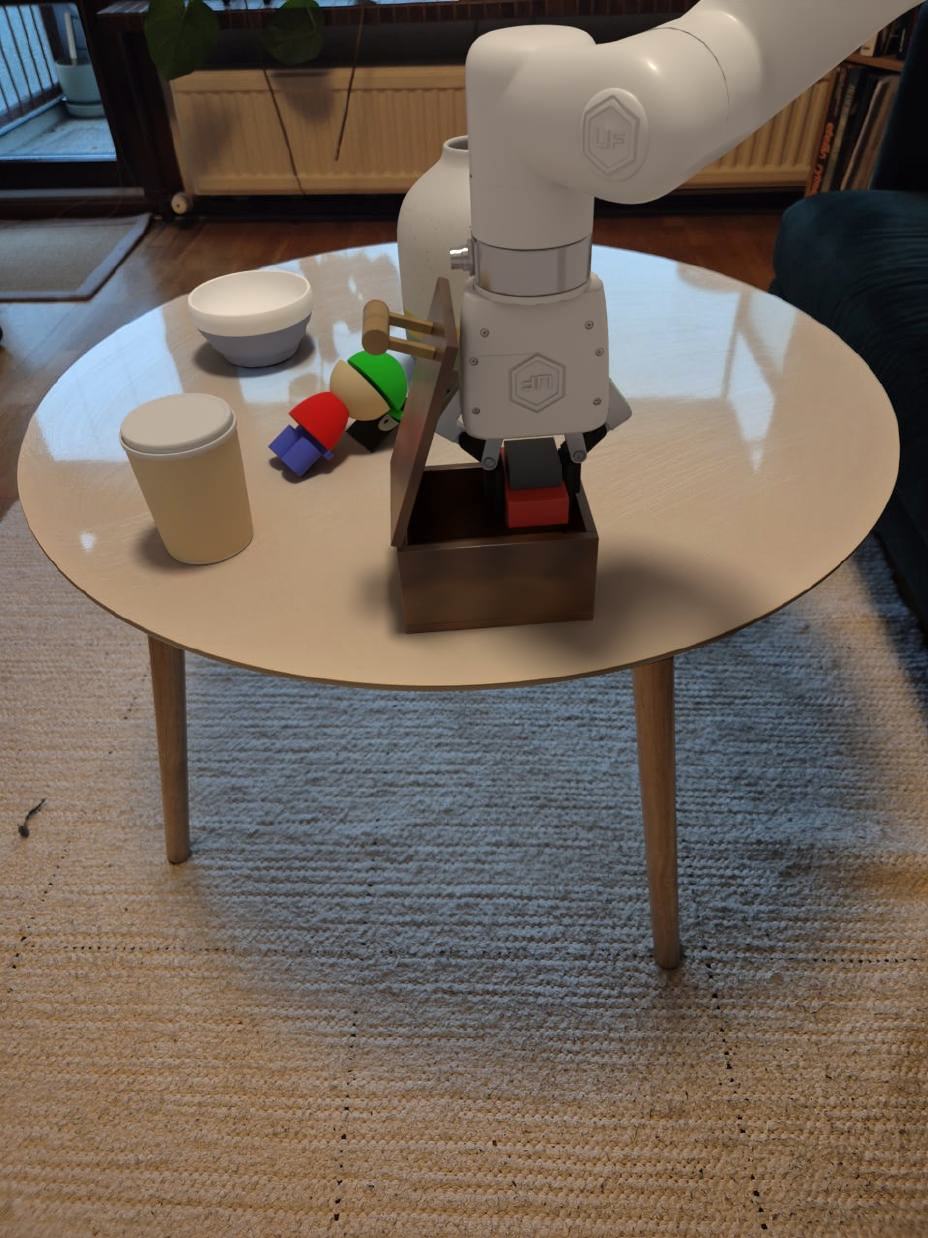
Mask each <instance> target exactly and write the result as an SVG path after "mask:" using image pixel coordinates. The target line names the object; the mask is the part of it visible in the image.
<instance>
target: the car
mask: <svg viewBox="0 0 928 1238" xmlns="http://www.w3.org/2000/svg"><path fill="white" fill-rule="evenodd" d="M500 453H501V455H502V460H503V465H504V471H505V510H504V517H505V526H506V527H509V528H516V527H529V526H542V525H554V524H567V523H568V511H569V498H568V494H567V490H566V487H565V483H564V481H563V477H562V464H561V460H560V457H559V453H558V447H557V443H556V440H555V437H554V436H545V437H532V438H519V439H506V440H503V446H502V447H501V451H500Z"/></svg>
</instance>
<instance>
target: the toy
mask: <svg viewBox="0 0 928 1238" xmlns="http://www.w3.org/2000/svg"><path fill="white" fill-rule="evenodd" d="M408 391H409V384H408V377H407V374H406V371H405V369H404V367H403V365H402V364H401V363H400V362H399V361H398V360H397V359H396V358H395V357H394V356H393V355H391V354H390V353H388V352H387V351H386V352H385V353H384V354H382V355H378V356H374V355H370V354H368V353H367V352H366V351H365V350H364V349H363V350H361V351H358V352H355V353H354V354H353V355H351V356H350V357H349V358H348V359H347V360H346V361H345V360H343V359H341V358H340V359H339V360H338V361H337V362H336V364H335V365H334V367H333V369H332V371H331V374H330V377H329V391H321V392H318V393H315V394H312V395H311V396H309V397H307V398H306V399H303V400H302V401H301V402H300V403H298V404H297V405H295V407H294V408H292V409H291V410H290V411H289V412H288V413H287V414H288V415H289V416H290V417H291V419H293V421H294V422H295V423H297V424H298V425H297V426H296V427H293V426H292V425H291V424H290V423H289V424H288V425H287V426H286V427H285V428H284V429H283V430H282V431H281V432H280V433H279V434H278V435H277V436H276V437H275V438H274V439H273V440H272V442H271V443H270V444H269V445H267V448H269V450H270V451H272V452H273V453H274V455H276V456H277V457H278V458H279V459H280V460H281V461H282V462H283V463H284V464H285V465H287V467H288V468H289V469H290V470H292V471H293V472H294V473H295V474H296V475H297V476H298V477H299V478H301V477H302V476H303V475H304V474H305V473H306V472H307V471H308V470H309V469H310V468H311V467H312V466H313V464H315V463H316V461H317V460H318V459H319V458H320V457H321V456H323V457H324V458H325V459H326V460H327V461H330V460H332V458H333V457H334V454H333V453H332V452H331V451H332V450H333V448H335V446H336V445H337V444H338V442H339V441H340V439H341V438H342V436H343V434H344V432H345V433H346V434H347V435H349V437H350V438H352V439H353V440H354V441H356V442H357V443H359V445H361V446H362V448H364V449H366V450H367V451H368V452H369V453H371V454H373V452H374V451H375V450H376V449H377V448H378V447H379V446H380V445H381V444H383V441H385V440H386V439H387V437H389V435H391V433H393V432H394V430H395V429H397V427H399V426H400V422H401V418H402V414H403V411H404V407H405V403H406V399H407V395H408ZM349 418H350V419H353V420H355V421H353V423H352V424H351V425H349V427H348V428H347V429H346V427H347V425H348V421H349Z"/></svg>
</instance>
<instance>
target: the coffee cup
mask: <svg viewBox="0 0 928 1238" xmlns="http://www.w3.org/2000/svg"><path fill="white" fill-rule="evenodd" d="M118 440H119V444H120V446H121V448H122V449H123V451H125V454H126V456H127V458H128V461H129V463H130V466H131V469H132V471H133V475H134V476H135V479H136V481H137V483H138V486H139V488H140V490H141V491H140V492H141V493H142V496H143V497H144V500H145V503H146V505H147V507H148V510H149V512H150V514H151V517H152V519H153V522H154V524H155V526H156V529H157V532H158V533H159V535H160V538H161V540H162V542H163V544H164V547H165V548H166V551H167V552H168V554H169V555H170V557H172V558H173V559H175V560H176V561H178V562H181V563H184V564H189V565H209V564H215V563H219V562H222V561H225V560H228V559H230V558H233V557H234V556H236V555H238V554H239V553H240V552H242V551H243V550H244V549H246V547H248V545H249V544H250V543H251V541H252V539H253V536H254V527H253V518H252V513H251V505H250V499H249V492H248V485H247V479H246V473H245V468H244V462H243V457H242V456H243V455H242V450H241V443H240V438H239V432H238V418H237V415H236V413H235V410H233V409H232V408H231V406H230V405H229V403H228V402H226V401H225V400H224V399H223V398H221V397H218V396H216V395H212V394H209V393H201V392H200V393H199V392H184V393H183V392H182V393H176V394H170V395H165V396H162V397H157V398H154V399H153V400H149V401H147V402H144V403H142V404H140V405H138V406H137V407H135V408H134V409H132V410H131V411H130V412H128V413H127V414H126V416H124V418H123V419H122V421H121V423H120V426H119V433H118Z"/></svg>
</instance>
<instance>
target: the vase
mask: <svg viewBox="0 0 928 1238" xmlns="http://www.w3.org/2000/svg"><path fill="white" fill-rule="evenodd" d="M396 226H397V227H396V241H397V243H396V245H397V256H398V267H399V280H400V289H401V301H402V312H403V315H406V316H410V317H414V318H418V319H422V320H426V321H427V318H428V314H429V310H430V306H431V303H432V299H433V295H434V291H435V287H436V283H437V279H438V277H442V278H446V279H449V284H450V291H451V298H452V305H453V312H454V319H455V326H456V332H457V339H458V346H459V329H460V313H461V304H462V297H463V291H464V285H465V283H466V281H467V280H468V279H469V278H470V277H473V276H474V275H473V276H470V275H469V271H463V269H456V270H451V264H450V248H453V247H461V244H467V239H471V230H472V227H471V203H470V180H469V156H468V134H466V135H460V136H456V137H452V138H449V139H447V140H446V141H444V143H443V144H442V152H441V156H440V158H439V159H438V160H437V162H436V163H435V164H434V165H432V166H431V167H430V168H429V169H428V170H427V171H426V172H425V173H423V175H421V177H419V178H418V180H416V181H415V182H414V184H413V185H412V186H411V187H410V189H409V190H408V191H407V193H406V195H405V197H404V198H403V201H402V204H401V207H400V210H399V214H398V219H397V225H396ZM404 331H405V337H406V338H405V340H409V341H413V342H418V343H421V341H422V337H423V333H420V332H416V331H412V330H408V329H404ZM410 357H411V360H412V362H413V364H414V365H415V364H416V360H417V356H413V355H410ZM458 380H459V372H458V354H457V357H456V361H455V364H454V368H453V371H452V375H451V378H450V381H449V385H448V388H447V390H448V391H451V390H452V389H453V387H454V386H455V384H456V383H457V381H458Z"/></svg>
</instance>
